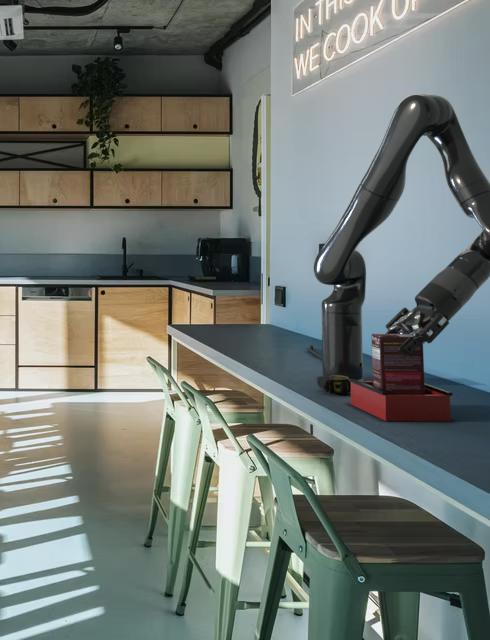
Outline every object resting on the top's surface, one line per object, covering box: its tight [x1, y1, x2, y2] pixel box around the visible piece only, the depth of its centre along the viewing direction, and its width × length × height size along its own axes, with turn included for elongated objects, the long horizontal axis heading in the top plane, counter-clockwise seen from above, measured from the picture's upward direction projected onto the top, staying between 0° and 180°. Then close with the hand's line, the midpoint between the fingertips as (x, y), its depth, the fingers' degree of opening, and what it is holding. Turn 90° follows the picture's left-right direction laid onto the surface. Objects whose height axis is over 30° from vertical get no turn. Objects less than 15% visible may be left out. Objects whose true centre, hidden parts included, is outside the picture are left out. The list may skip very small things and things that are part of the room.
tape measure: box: [316, 375, 351, 395], centre depth 169 cm, size 7×7×4 cm
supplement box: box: [371, 333, 425, 395], centre depth 150 cm, size 9×5×16 cm, turn 85°
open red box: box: [348, 378, 454, 422], centre depth 149 cm, size 15×14×6 cm
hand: (391, 350), depth 150 cm, fingers open, 8 cm apart
